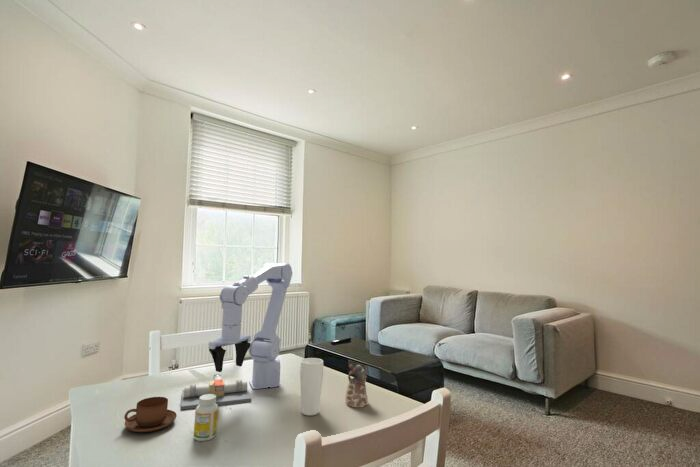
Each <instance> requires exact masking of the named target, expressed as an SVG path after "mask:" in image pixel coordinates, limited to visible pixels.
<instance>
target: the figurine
mask: <svg viewBox="0 0 700 467" xmlns="http://www.w3.org/2000/svg"><path fill="white" fill-rule="evenodd" d="M348 367H349V369H350V371H349V372H348V376H347V379H348V384H347V387H346V392H345V404H346V405H347V406H348V405H349V406H348V407H350V406H352V407H351V408H353V407H361V408H363V407H362V406H365V405H367V406H368V404H369V403H368V401H369V400H368V394H367V386H366V382H367V378H368V375H367V374H366V370H365V369H364V367H362V366H361V364H356V365H355V367H354V365H353V364H349V366H348ZM351 375H353V377H351ZM367 403H368V404H367ZM365 407H366V406H365Z"/></svg>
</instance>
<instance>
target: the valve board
mask: <svg viewBox="0 0 700 467" xmlns="http://www.w3.org/2000/svg"><path fill="white" fill-rule="evenodd" d="M223 383H224V391H216V392H215V389H214V380H209V382H208V385H204V386H197V385H196V384H195V383H194V384H190V386H189V387H184V388H183V389H182V390H181V391H182V392H181V403H180V404H181V405H180V411H182V410H191V409H192V410H193V409H196V407H197V406H198V405H199V398H200V396H202V395H205V394H214V395H216V402H215V403H216V404H217V405H218V406H225V405H232V404H241V403H250V402H252V396H251V394H250V392H249V390H248V382H247V381H243V380H242V379H238V380H236V381H235V382H233V383H232V382H231V383H225V380H224V379H223Z"/></svg>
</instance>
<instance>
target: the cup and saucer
mask: <svg viewBox="0 0 700 467" xmlns="http://www.w3.org/2000/svg"><path fill="white" fill-rule="evenodd" d="M168 403H169V399H168V398H167V397H165V396H151V397H146V398H144V399H141V400H139V401H137V403H136V408H132V409H131V408H130V409H129V410H127V411H126V412H125V414H124V417H123V418H124V420H125V421H124V427H125V428H126V429H127V430H129V431H131V432H135V433H148V432H155V431H158V430H161V429H164V428H166V427H168V426H170V425H171V424H172V423H174V421H175V420H176V418H177V413H176V412H175V411H173V410H172V409H168V408H169V406H168V405H169V404H168ZM130 413H135V414H133V415H131V416H128V415H129V414H130Z"/></svg>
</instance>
